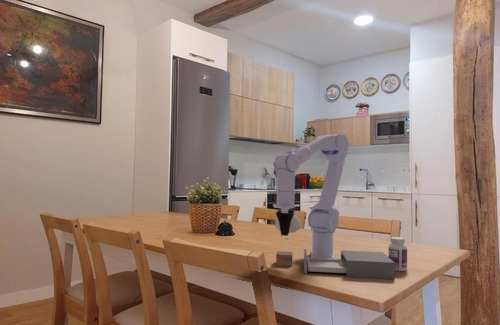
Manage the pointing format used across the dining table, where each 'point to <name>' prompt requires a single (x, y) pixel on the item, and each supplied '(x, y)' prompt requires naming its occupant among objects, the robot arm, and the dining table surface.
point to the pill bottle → (398, 253)
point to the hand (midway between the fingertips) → (285, 233)
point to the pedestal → (283, 258)
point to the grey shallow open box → (324, 264)
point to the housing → (368, 264)
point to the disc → (293, 225)
